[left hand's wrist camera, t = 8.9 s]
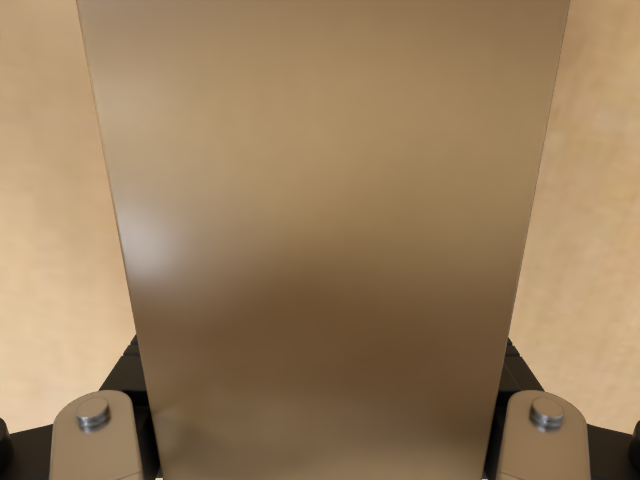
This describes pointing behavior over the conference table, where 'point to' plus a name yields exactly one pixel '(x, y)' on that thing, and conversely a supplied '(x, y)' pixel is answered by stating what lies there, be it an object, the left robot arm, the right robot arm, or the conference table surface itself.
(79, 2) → the box
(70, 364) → the conference table surface
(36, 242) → the conference table surface
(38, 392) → the conference table surface
